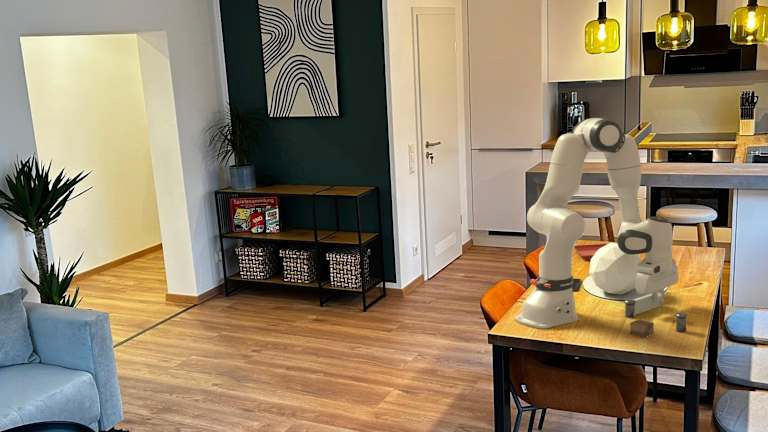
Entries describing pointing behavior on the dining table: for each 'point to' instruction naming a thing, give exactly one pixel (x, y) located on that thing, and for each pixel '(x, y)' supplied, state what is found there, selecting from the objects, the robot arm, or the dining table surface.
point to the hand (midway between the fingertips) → (657, 301)
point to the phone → (576, 284)
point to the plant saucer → (588, 250)
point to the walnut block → (641, 328)
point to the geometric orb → (614, 269)
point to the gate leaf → (646, 304)
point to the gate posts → (680, 316)
